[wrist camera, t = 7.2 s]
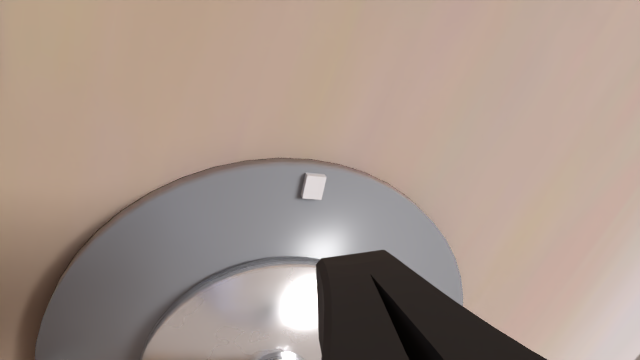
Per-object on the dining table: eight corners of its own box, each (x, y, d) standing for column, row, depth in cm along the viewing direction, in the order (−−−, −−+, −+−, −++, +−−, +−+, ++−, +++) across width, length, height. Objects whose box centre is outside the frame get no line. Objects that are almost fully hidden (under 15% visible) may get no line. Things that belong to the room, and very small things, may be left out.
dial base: (45, 500, 23) (37, 528, 22) (35, 129, 16) (23, 142, 15) (395, 459, 30) (403, 479, 28) (507, 180, 22) (524, 192, 21)
